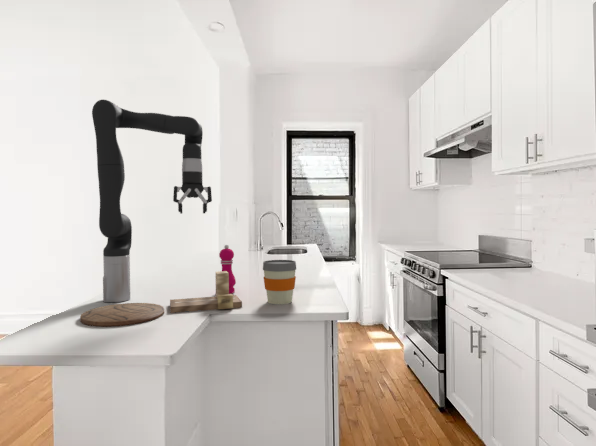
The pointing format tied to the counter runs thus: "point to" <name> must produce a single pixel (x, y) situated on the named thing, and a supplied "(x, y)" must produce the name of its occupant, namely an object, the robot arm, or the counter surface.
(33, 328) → the counter surface
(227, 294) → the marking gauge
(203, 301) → the walnut board
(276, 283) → the reusable coffee cup
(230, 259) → the pepper mill
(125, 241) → the robot arm
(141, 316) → the trivet
